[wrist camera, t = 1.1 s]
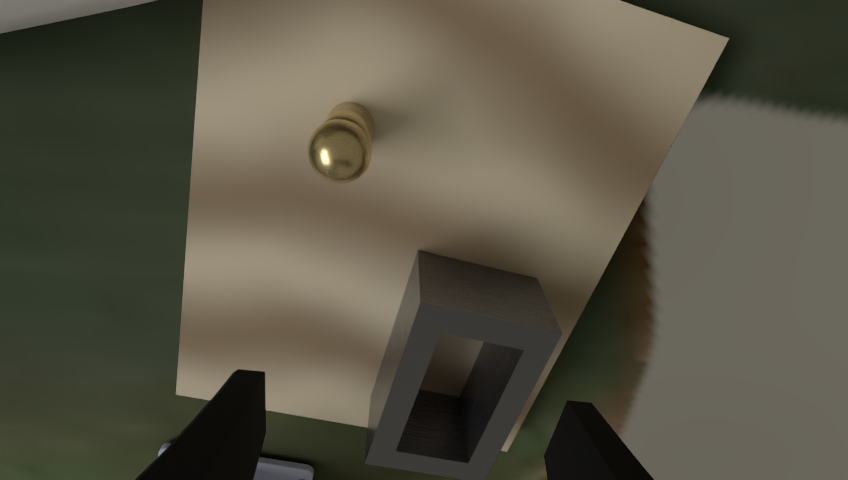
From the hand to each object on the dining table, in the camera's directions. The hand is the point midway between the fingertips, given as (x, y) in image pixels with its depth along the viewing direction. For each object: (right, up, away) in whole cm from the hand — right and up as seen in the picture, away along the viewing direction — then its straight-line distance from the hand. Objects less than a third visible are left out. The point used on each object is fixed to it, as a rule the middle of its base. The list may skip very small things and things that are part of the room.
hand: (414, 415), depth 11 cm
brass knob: (-2, +8, +5) cm, 10 cm away
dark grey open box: (+1, 0, +9) cm, 9 cm away
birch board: (-1, +5, +8) cm, 9 cm away
